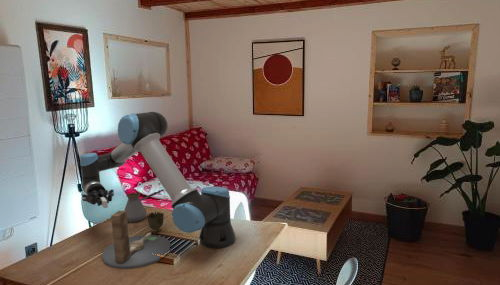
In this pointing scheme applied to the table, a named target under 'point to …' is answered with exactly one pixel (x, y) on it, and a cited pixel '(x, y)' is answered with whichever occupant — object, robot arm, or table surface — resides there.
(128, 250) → the brown bar with rod
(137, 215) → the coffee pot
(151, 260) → the dial plate
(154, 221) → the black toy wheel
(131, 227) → the table surface
